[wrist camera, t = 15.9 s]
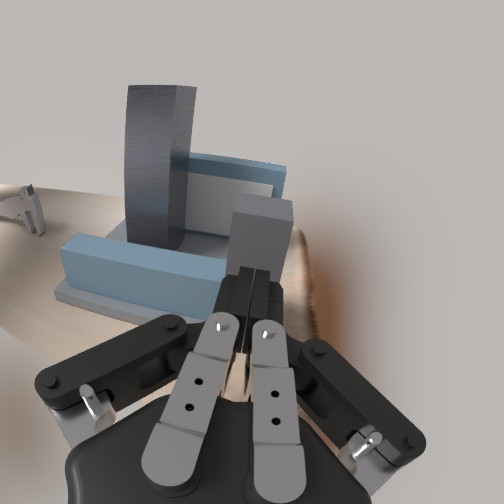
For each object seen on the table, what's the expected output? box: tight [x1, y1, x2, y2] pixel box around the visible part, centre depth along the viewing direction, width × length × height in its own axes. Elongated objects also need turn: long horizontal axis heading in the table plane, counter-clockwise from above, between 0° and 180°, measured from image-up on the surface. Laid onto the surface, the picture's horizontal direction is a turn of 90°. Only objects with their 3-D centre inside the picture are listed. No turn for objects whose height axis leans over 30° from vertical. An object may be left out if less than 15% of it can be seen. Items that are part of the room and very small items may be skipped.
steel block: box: [124, 85, 197, 251], centre depth 24 cm, size 4×5×15 cm
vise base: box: [54, 152, 286, 347], centre depth 24 cm, size 17×16×9 cm
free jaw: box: [60, 192, 293, 343], centre depth 19 cm, size 16×4×9 cm, turn 84°
